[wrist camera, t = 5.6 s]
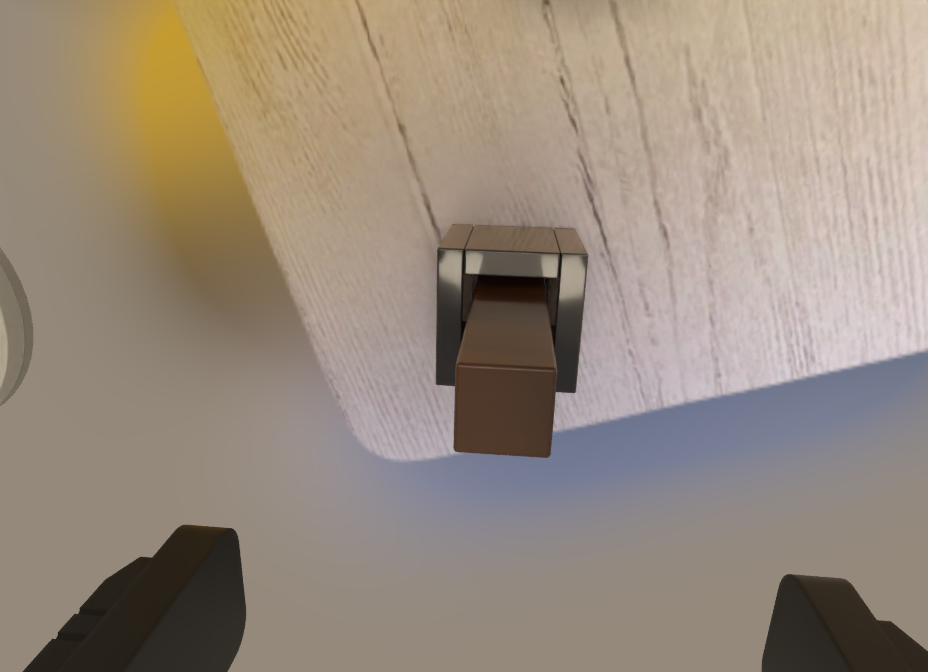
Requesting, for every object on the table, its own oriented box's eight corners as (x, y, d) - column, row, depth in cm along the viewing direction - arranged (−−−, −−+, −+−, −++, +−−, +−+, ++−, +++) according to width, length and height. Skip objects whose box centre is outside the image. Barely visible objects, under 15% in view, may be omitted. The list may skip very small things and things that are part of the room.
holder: (449, 339, 28) (435, 385, 23) (452, 223, 26) (437, 247, 21) (566, 345, 27) (575, 393, 23) (576, 228, 26) (588, 254, 21)
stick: (480, 312, 27) (453, 453, 16) (482, 256, 26) (455, 363, 15) (537, 314, 27) (550, 459, 16) (541, 259, 26) (558, 369, 15)
